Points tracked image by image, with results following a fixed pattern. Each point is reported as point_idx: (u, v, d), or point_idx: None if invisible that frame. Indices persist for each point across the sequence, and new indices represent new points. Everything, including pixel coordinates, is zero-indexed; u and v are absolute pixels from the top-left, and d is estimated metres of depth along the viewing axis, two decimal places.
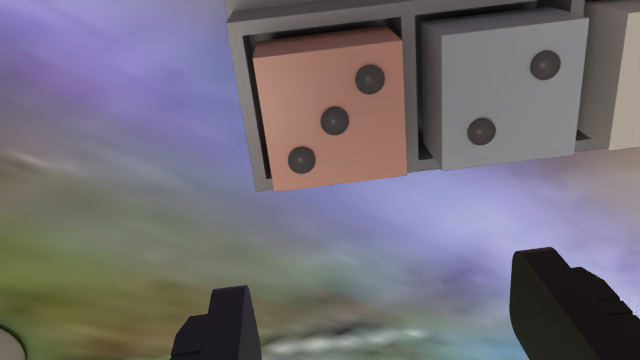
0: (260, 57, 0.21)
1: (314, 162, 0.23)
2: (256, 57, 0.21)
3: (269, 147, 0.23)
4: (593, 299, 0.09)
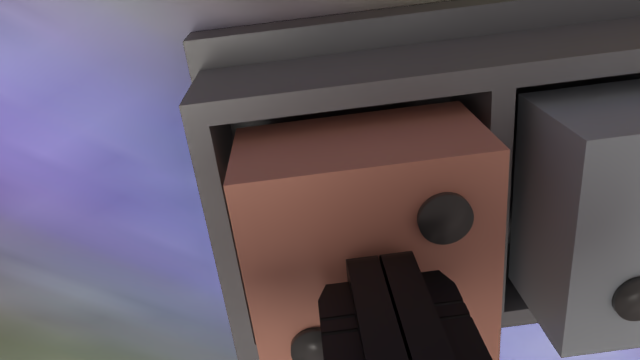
0: (238, 182, 0.11)
1: None
2: (230, 182, 0.11)
3: (257, 329, 0.13)
4: (429, 301, 0.10)
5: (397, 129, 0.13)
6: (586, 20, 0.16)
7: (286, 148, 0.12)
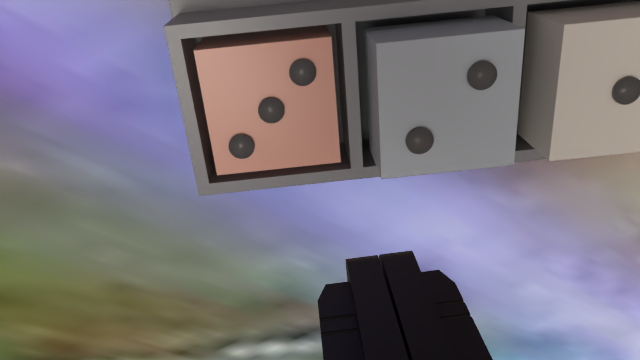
0: (200, 49, 0.23)
1: (253, 148, 0.25)
2: (197, 49, 0.23)
3: (211, 133, 0.25)
4: (429, 301, 0.10)
5: (285, 33, 0.25)
6: None
7: (227, 40, 0.24)
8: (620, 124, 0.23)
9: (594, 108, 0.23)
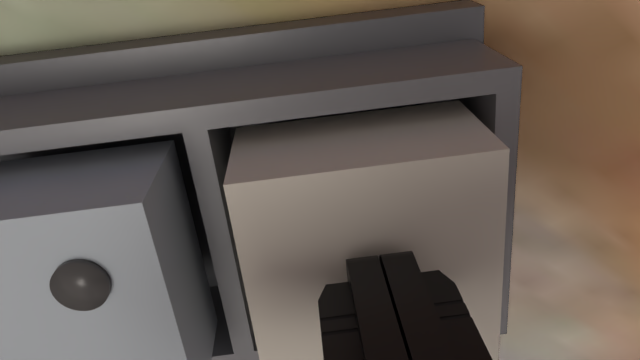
0: None
1: None
2: None
3: None
4: (429, 301, 0.10)
5: None
6: (78, 84, 0.15)
7: None
8: None
9: None
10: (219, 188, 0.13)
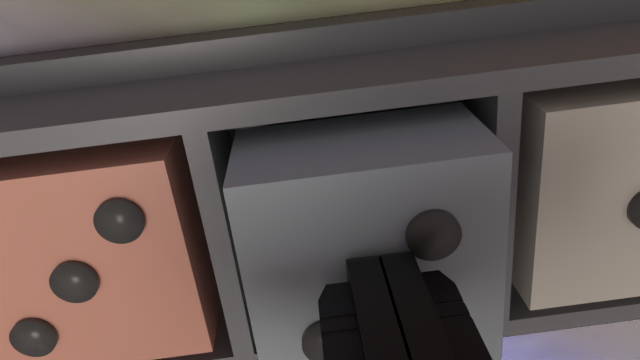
0: None
1: (57, 337, 0.15)
2: None
3: None
4: (429, 301, 0.10)
5: None
6: (337, 54, 0.15)
7: None
8: None
9: (599, 234, 0.14)
10: (518, 153, 0.13)
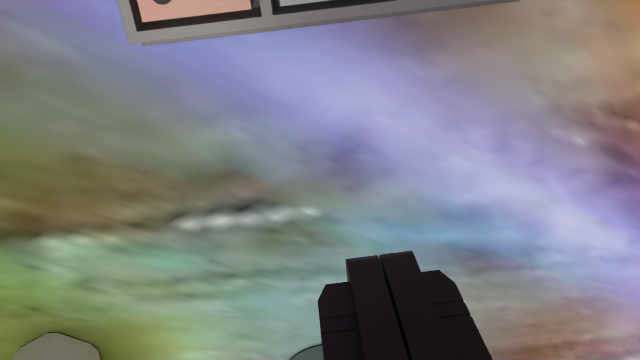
0: None
1: None
2: None
3: None
4: (429, 301, 0.10)
5: None
6: None
7: None
8: None
9: None
10: None
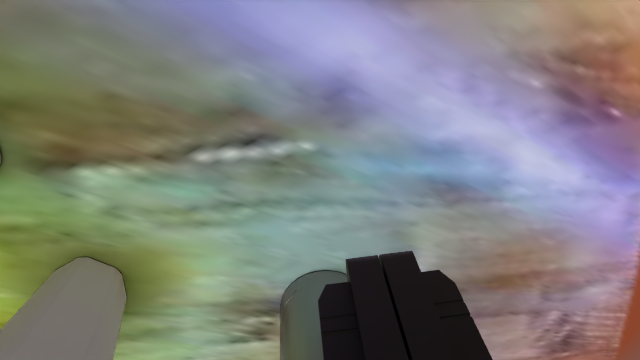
0: None
1: None
2: None
3: None
4: (429, 301, 0.10)
5: None
6: None
7: None
8: None
9: None
10: None
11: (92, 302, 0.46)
